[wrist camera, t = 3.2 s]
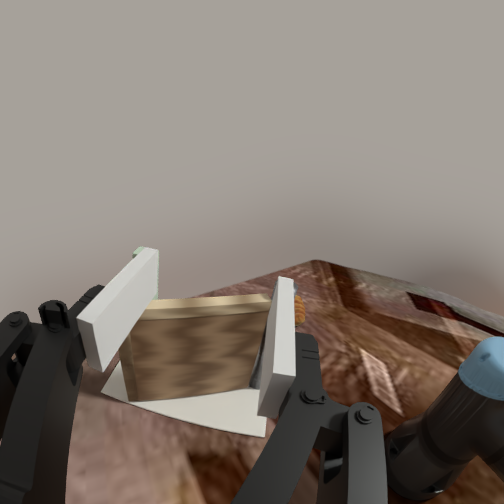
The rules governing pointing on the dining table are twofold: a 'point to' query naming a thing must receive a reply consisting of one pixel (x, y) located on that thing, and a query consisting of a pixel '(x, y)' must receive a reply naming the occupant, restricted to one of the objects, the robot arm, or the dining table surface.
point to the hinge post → (262, 353)
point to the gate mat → (201, 407)
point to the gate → (193, 346)
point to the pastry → (299, 311)
